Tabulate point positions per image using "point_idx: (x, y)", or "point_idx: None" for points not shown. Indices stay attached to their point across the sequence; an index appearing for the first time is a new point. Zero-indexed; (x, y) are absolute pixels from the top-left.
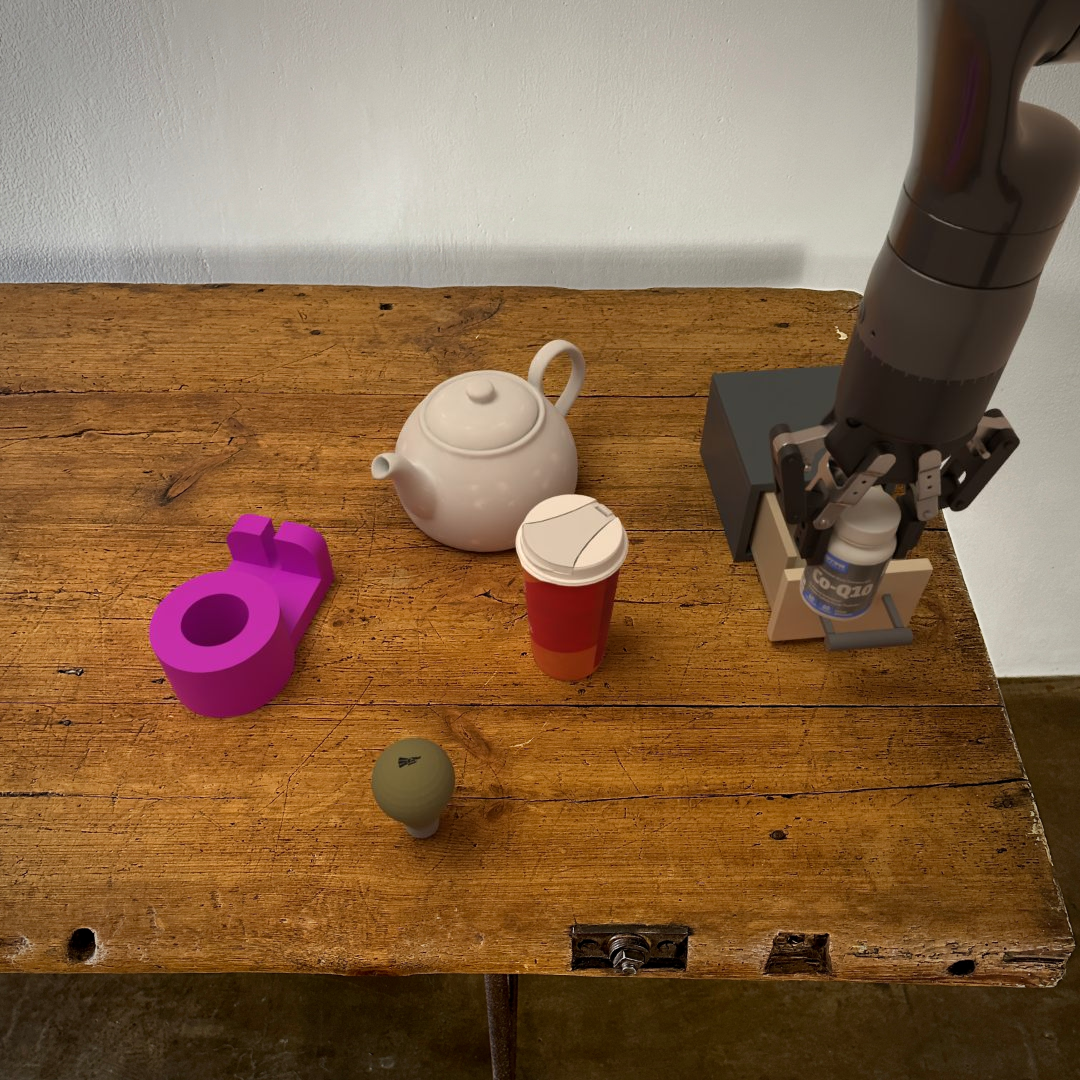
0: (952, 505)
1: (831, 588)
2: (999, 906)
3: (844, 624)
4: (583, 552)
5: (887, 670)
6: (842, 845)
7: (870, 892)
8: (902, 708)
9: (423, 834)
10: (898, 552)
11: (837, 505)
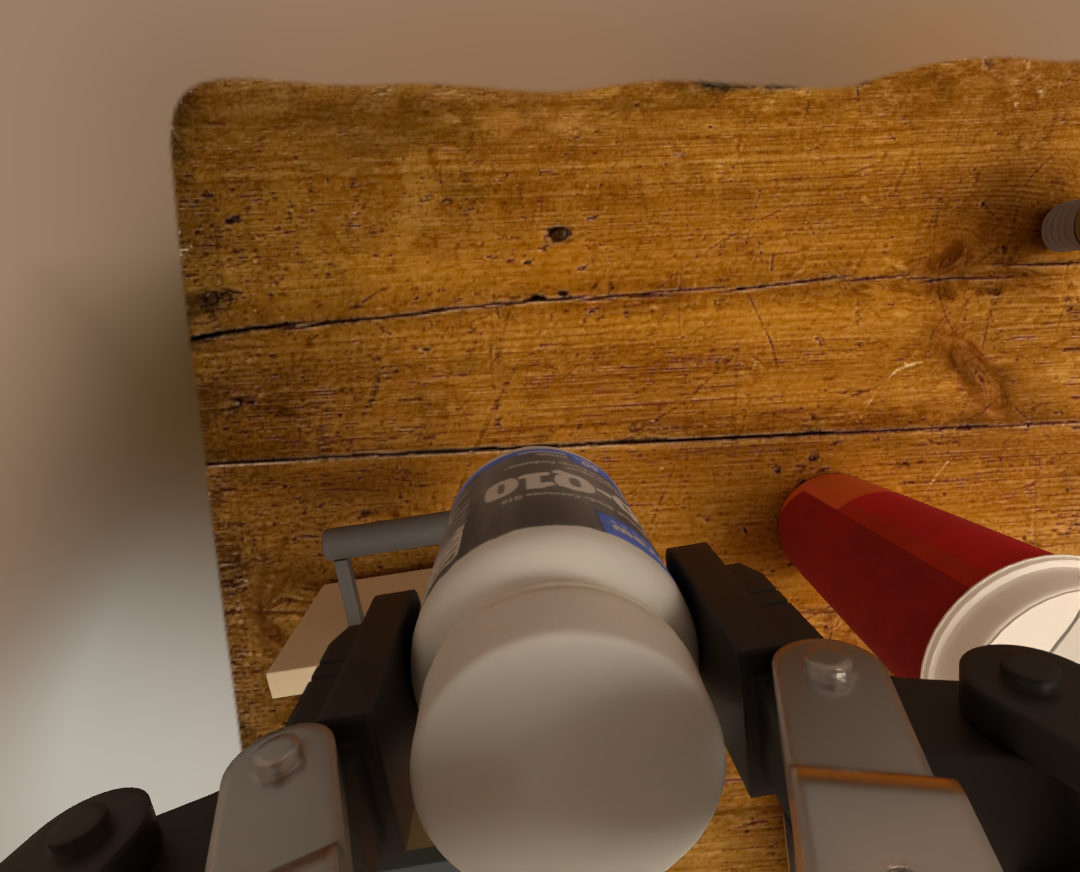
0: (130, 826)
1: (606, 492)
2: (250, 128)
3: (422, 581)
4: (1061, 631)
5: (359, 516)
6: (467, 220)
7: (437, 145)
8: (346, 452)
9: (1075, 200)
10: (402, 605)
11: (863, 769)
